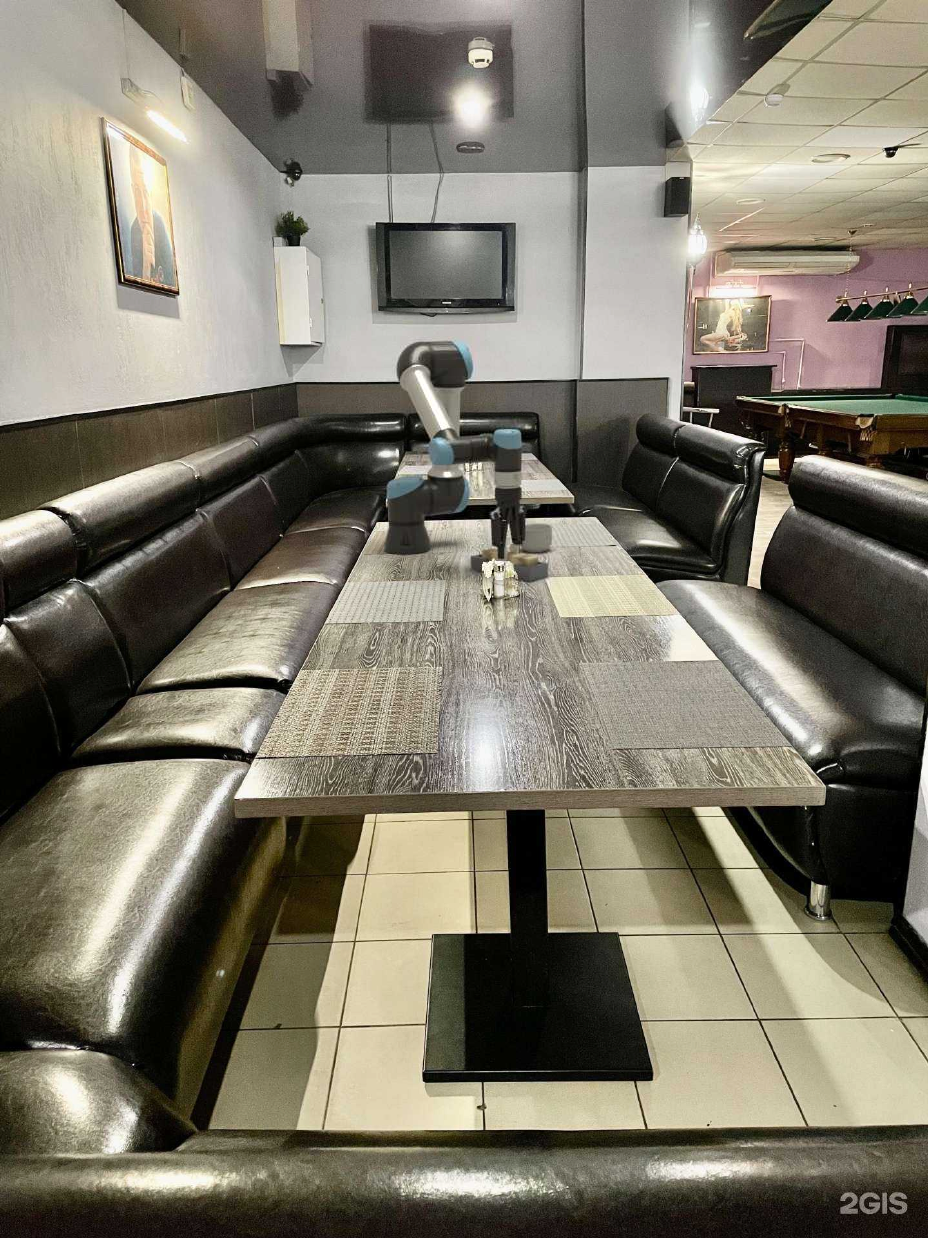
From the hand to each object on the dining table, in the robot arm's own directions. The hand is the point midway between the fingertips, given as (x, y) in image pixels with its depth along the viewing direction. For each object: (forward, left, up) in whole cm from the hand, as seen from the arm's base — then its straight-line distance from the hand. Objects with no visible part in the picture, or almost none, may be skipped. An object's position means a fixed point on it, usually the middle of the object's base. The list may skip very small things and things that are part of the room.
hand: (508, 568), depth 249 cm
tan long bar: (0, 0, -1) cm, 1 cm away
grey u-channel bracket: (-9, 0, -2) cm, 9 cm away
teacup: (-16, +29, -2) cm, 33 cm away
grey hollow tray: (+8, 0, -2) cm, 9 cm away
